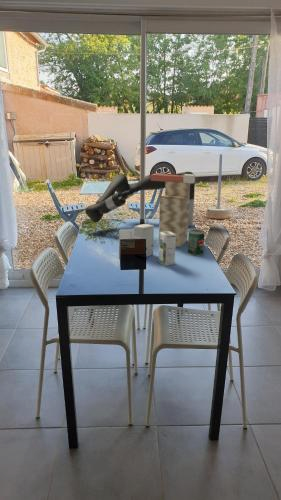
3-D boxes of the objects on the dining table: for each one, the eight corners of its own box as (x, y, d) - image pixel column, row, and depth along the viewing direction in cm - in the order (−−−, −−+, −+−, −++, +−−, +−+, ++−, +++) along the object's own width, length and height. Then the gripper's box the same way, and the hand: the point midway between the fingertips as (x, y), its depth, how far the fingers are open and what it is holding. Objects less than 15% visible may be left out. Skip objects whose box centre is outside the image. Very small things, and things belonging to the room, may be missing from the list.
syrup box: (158, 262, 173) (159, 231, 169) (169, 260, 175) (170, 230, 171) (163, 266, 168) (164, 235, 164) (175, 264, 170) (176, 234, 166)
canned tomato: (204, 255, 182) (205, 234, 179) (187, 255, 183) (189, 233, 179) (202, 250, 190) (204, 229, 186) (187, 250, 190) (188, 229, 187)
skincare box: (142, 258, 178) (142, 228, 173) (133, 255, 182) (133, 225, 177) (153, 254, 184) (154, 224, 179) (144, 251, 188) (145, 222, 183)
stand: (158, 244, 199) (160, 183, 189) (166, 237, 210) (168, 180, 200) (180, 247, 195) (183, 185, 184) (187, 240, 206) (190, 182, 196)
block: (150, 180, 199) (150, 173, 198) (153, 179, 203) (153, 172, 201) (192, 183, 191) (193, 175, 190) (194, 182, 194) (195, 174, 193)
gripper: (123, 204, 218) (146, 192, 211) (113, 209, 205) (136, 196, 198) (117, 193, 217) (140, 180, 210) (106, 197, 205) (130, 183, 197)
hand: (138, 188), depth 204 cm, fingers open, 8 cm apart
